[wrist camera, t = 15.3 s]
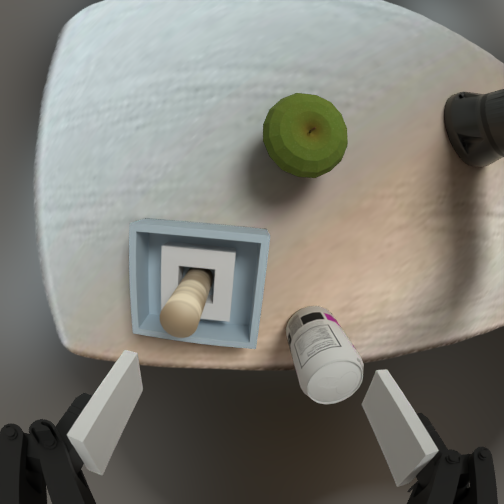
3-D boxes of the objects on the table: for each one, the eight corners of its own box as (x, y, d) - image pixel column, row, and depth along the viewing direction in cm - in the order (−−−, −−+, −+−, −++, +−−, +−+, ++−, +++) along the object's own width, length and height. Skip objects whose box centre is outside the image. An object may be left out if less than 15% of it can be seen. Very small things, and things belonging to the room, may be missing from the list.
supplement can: (339, 307, 42) (377, 357, 28) (324, 349, 44) (351, 407, 29) (292, 300, 42) (315, 352, 27) (279, 344, 43) (293, 406, 29)
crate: (145, 218, 38) (129, 223, 32) (266, 229, 39) (270, 235, 33) (145, 316, 42) (133, 333, 36) (254, 328, 43) (255, 348, 37)
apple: (277, 97, 35) (287, 70, 25) (341, 127, 36) (369, 111, 26) (248, 161, 37) (249, 151, 27) (315, 191, 38) (337, 192, 28)
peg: (187, 263, 39) (159, 300, 25) (214, 266, 39) (198, 305, 26) (186, 289, 40) (160, 334, 26) (212, 292, 40) (197, 340, 27)
